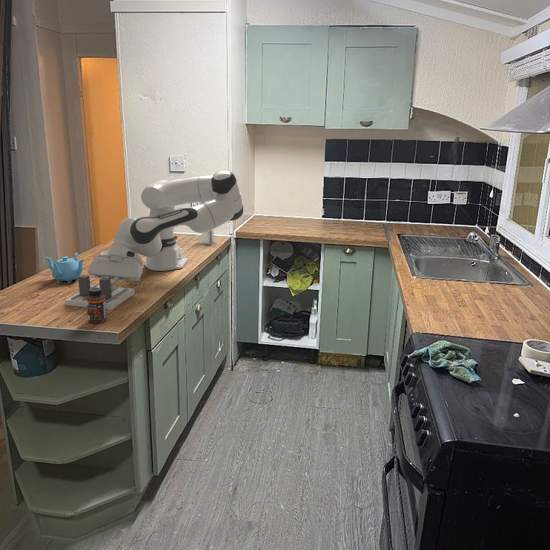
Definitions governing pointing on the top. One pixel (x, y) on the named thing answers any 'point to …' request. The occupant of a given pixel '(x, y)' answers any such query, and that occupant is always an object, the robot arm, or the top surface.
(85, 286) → the switch tab
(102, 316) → the supplement bottle
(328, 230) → the top surface
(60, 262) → the teapot
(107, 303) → the white board with strips
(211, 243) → the skyscraper
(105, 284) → the switch tab
